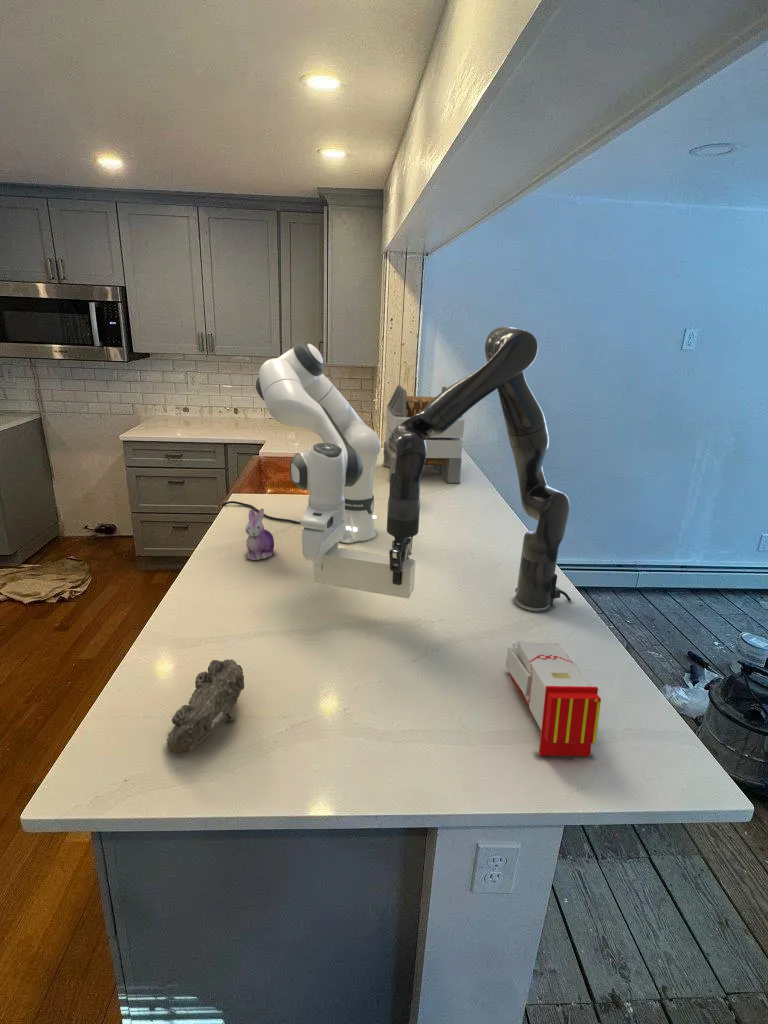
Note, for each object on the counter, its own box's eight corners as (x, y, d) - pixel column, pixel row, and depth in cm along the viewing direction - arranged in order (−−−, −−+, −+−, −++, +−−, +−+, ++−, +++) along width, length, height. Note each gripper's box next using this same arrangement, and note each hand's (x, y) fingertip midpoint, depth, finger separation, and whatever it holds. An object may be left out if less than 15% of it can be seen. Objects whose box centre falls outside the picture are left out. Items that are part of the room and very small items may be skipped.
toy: (554, 624, 127) (610, 694, 97) (548, 679, 130) (602, 763, 100) (500, 623, 126) (541, 693, 97) (496, 678, 129) (534, 763, 100)
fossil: (192, 660, 117) (244, 628, 112) (224, 691, 120) (276, 661, 115) (142, 746, 98) (202, 712, 93) (182, 779, 101) (242, 748, 96)
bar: (313, 582, 142) (313, 552, 140) (320, 574, 147) (320, 545, 144) (409, 598, 136) (410, 567, 134) (413, 589, 141) (415, 559, 138)
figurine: (249, 563, 172) (248, 517, 167) (241, 550, 180) (239, 506, 175) (280, 558, 176) (279, 513, 171) (270, 546, 184) (269, 502, 179)
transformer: (382, 463, 289) (386, 382, 275) (445, 464, 293) (451, 384, 279) (390, 482, 257) (394, 392, 243) (460, 483, 261) (468, 394, 247)
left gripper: (330, 497, 148) (329, 545, 153) (297, 522, 129) (297, 577, 134) (353, 500, 146) (351, 549, 151) (322, 526, 128) (322, 582, 132)
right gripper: (411, 526, 125) (407, 595, 131) (425, 506, 138) (421, 569, 144) (379, 521, 127) (376, 589, 133) (395, 502, 140) (392, 565, 146)
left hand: (325, 562), depth 142 cm, fingers open, 8 cm apart
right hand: (400, 578), depth 138 cm, fingers closed on bar, 5 cm apart
